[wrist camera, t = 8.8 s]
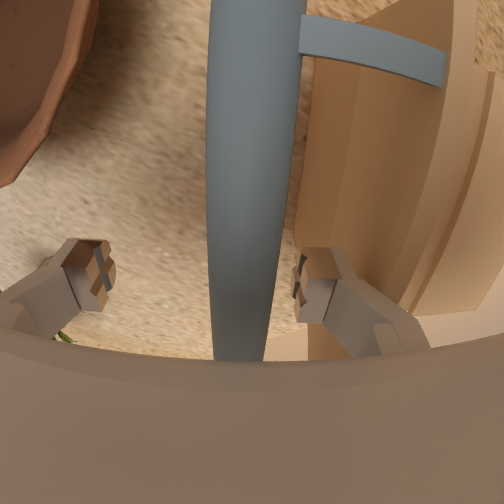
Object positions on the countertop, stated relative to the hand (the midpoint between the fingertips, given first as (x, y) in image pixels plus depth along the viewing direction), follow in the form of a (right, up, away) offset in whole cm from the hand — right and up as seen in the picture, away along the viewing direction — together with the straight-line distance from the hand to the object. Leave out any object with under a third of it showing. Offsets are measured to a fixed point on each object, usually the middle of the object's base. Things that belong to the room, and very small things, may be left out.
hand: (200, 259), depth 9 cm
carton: (+14, +9, +13) cm, 21 cm away
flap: (+6, 0, +1) cm, 6 cm away
